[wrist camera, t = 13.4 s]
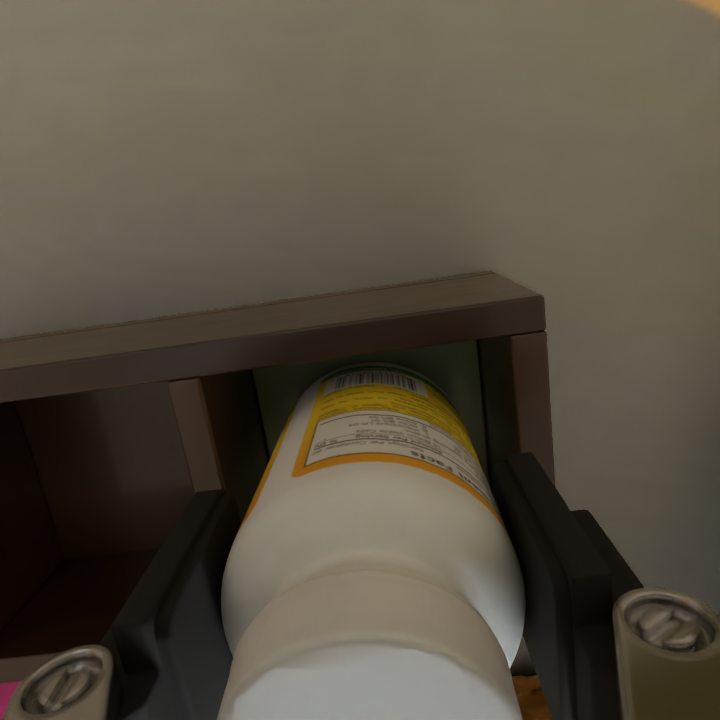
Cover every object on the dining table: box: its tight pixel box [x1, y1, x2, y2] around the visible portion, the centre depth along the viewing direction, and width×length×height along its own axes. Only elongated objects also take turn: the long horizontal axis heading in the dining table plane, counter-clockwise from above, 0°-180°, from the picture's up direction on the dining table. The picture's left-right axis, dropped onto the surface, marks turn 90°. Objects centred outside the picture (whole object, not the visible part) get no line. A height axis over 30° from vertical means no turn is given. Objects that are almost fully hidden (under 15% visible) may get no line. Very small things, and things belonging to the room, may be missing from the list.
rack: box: [0, 271, 555, 683], centre depth 16 cm, size 9×16×5 cm, turn 98°
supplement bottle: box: [217, 362, 526, 720], centre depth 11 cm, size 5×5×10 cm
